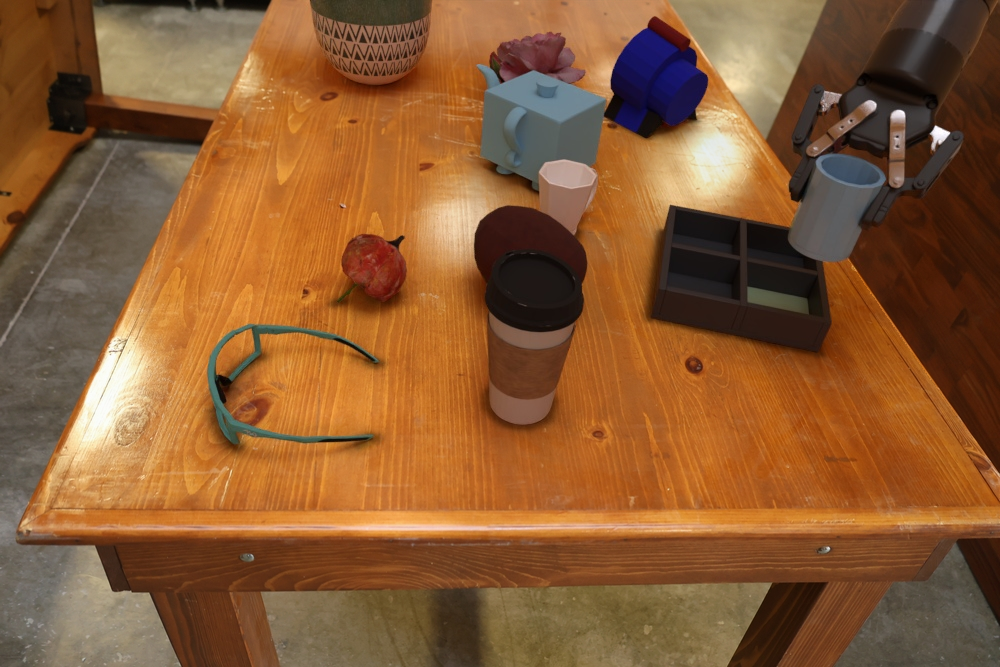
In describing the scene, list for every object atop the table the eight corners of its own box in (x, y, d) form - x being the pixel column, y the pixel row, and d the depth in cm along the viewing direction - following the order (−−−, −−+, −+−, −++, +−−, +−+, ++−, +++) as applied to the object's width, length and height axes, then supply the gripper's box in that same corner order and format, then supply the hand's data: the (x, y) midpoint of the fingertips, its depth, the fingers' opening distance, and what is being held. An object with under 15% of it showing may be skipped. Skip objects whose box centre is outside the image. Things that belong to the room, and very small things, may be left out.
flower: (603, 80, 126) (594, 18, 121) (544, 116, 119) (531, 51, 113) (538, 76, 136) (526, 18, 130) (479, 108, 129) (464, 48, 123)
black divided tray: (807, 260, 96) (818, 232, 93) (818, 352, 82) (832, 323, 80) (662, 232, 98) (669, 204, 95) (650, 317, 85) (658, 288, 82)
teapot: (603, 167, 110) (620, 79, 101) (537, 207, 100) (549, 114, 92) (506, 124, 118) (513, 39, 109) (436, 157, 108) (438, 67, 100)
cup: (519, 229, 96) (526, 171, 91) (568, 201, 102) (577, 145, 97) (563, 253, 93) (573, 194, 87) (611, 223, 99) (623, 166, 93)
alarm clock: (648, 97, 130) (668, 5, 120) (707, 125, 123) (733, 30, 113) (599, 113, 123) (616, 18, 113) (658, 144, 117) (681, 45, 107)
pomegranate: (365, 337, 82) (436, 277, 81) (317, 297, 77) (392, 233, 76) (351, 301, 87) (418, 244, 86) (306, 262, 83) (376, 201, 82)
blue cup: (847, 233, 76) (880, 160, 70) (854, 267, 71) (890, 192, 66) (785, 221, 76) (813, 148, 71) (788, 255, 72) (818, 179, 67)
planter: (410, 51, 137) (410, -83, 123) (450, 96, 124) (456, -48, 110) (300, 60, 130) (287, -80, 116) (331, 109, 117) (321, -42, 103)
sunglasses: (225, 346, 76) (223, 307, 72) (378, 359, 78) (382, 321, 75) (192, 457, 65) (188, 416, 62) (371, 468, 68) (375, 429, 64)
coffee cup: (524, 360, 78) (541, 235, 68) (582, 409, 73) (609, 283, 63) (458, 394, 73) (465, 266, 64) (515, 449, 69) (533, 320, 59)
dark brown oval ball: (545, 348, 79) (558, 266, 73) (446, 294, 85) (450, 214, 78) (600, 299, 86) (617, 220, 80) (506, 252, 92) (514, 175, 85)
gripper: (846, 4, 69) (752, 168, 70) (1016, 53, 63) (913, 231, 64) (844, 48, 76) (758, 197, 76) (998, 96, 70) (904, 257, 70)
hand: (829, 212), depth 70 cm, fingers closed on blue cup, 6 cm apart
